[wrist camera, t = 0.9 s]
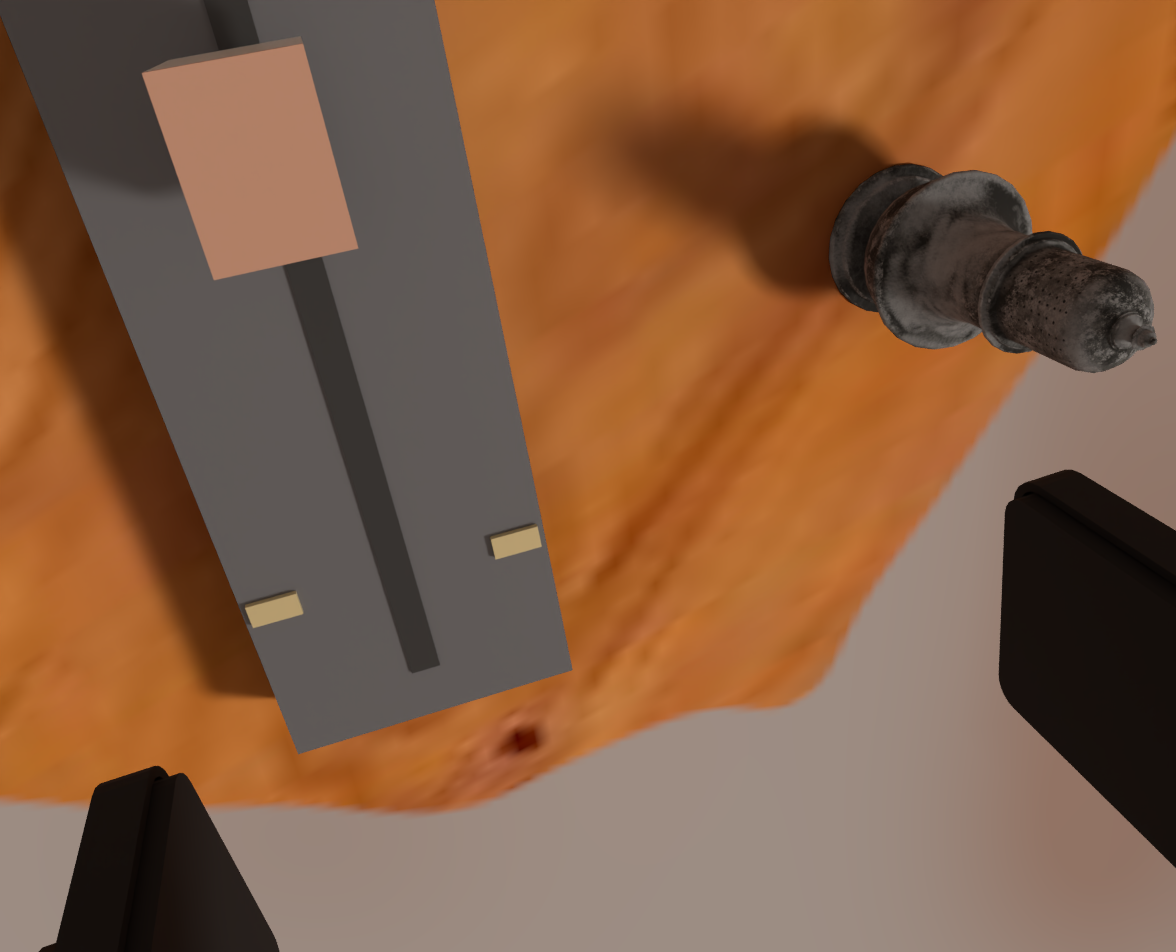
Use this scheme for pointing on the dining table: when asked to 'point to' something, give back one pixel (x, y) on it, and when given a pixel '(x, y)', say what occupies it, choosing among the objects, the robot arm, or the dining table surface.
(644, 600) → the dining table surface
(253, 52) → the fader
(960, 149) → the dining table surface
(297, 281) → the console
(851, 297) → the dark chess piece
